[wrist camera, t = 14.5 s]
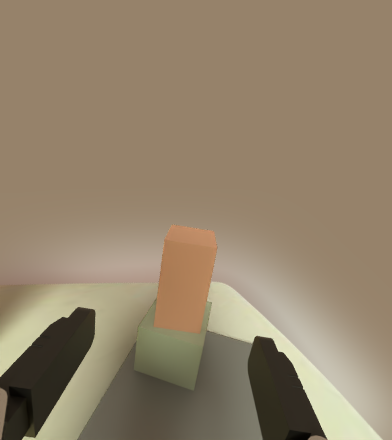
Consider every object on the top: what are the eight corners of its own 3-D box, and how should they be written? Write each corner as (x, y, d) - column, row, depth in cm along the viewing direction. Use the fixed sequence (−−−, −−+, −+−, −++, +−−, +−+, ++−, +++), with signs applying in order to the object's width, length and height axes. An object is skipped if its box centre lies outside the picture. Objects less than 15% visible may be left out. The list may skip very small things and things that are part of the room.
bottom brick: (133, 369, 22) (138, 326, 21) (157, 324, 29) (162, 289, 27) (193, 390, 21) (203, 346, 20) (204, 338, 28) (211, 302, 26)
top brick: (153, 326, 21) (164, 239, 18) (162, 296, 26) (171, 224, 23) (199, 333, 21) (217, 248, 18) (200, 302, 26) (213, 231, 23)
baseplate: (44, 504, 14) (43, 495, 13) (151, 319, 31) (152, 314, 31) (320, 643, 11) (326, 635, 11) (269, 355, 28) (271, 350, 28)
